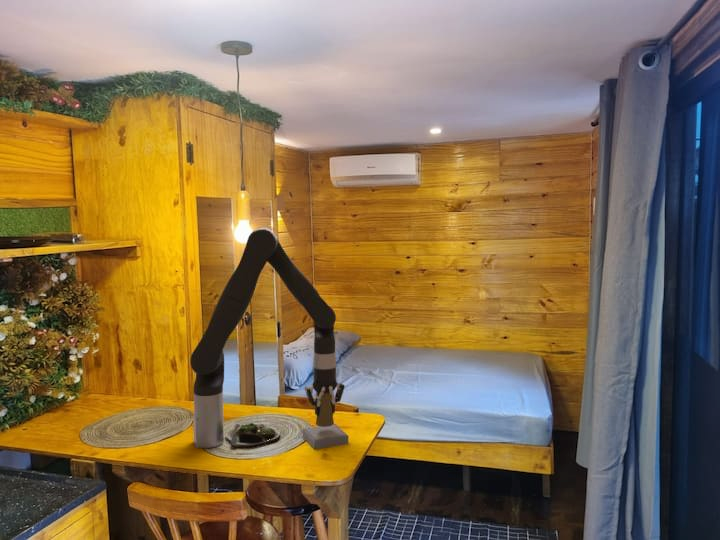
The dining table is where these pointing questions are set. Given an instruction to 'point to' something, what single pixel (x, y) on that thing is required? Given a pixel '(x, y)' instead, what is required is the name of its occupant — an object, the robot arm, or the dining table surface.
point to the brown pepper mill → (325, 411)
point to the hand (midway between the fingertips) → (325, 415)
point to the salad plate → (252, 435)
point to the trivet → (325, 436)
